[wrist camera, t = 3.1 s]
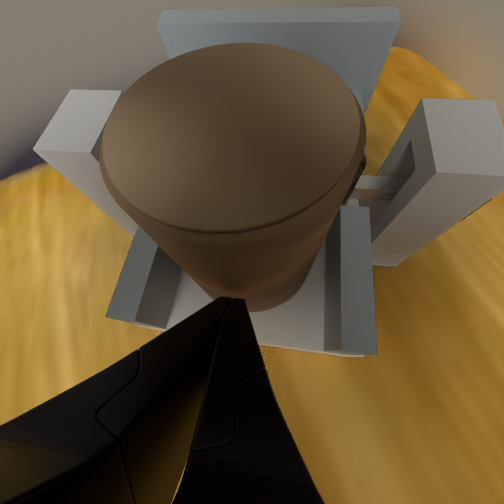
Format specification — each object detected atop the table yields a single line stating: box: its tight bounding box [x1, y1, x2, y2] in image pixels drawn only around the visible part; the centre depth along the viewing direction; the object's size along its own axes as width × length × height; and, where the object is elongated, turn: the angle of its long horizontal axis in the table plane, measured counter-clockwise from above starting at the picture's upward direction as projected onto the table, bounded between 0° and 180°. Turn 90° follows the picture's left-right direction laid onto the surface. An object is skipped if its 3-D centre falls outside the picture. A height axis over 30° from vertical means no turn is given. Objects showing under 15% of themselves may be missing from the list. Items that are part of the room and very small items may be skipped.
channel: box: [33, 7, 504, 357], centre depth 13 cm, size 15×17×9 cm
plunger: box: [341, 153, 491, 221], centre depth 12 cm, size 2×7×3 cm, turn 82°
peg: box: [99, 43, 366, 312], centre depth 10 cm, size 6×6×8 cm
